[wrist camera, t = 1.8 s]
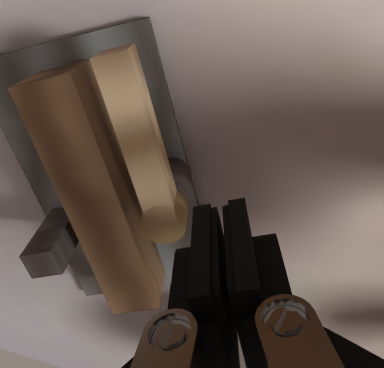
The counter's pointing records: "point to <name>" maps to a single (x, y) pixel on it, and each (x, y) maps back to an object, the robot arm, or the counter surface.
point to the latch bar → (141, 143)
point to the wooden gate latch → (90, 166)
